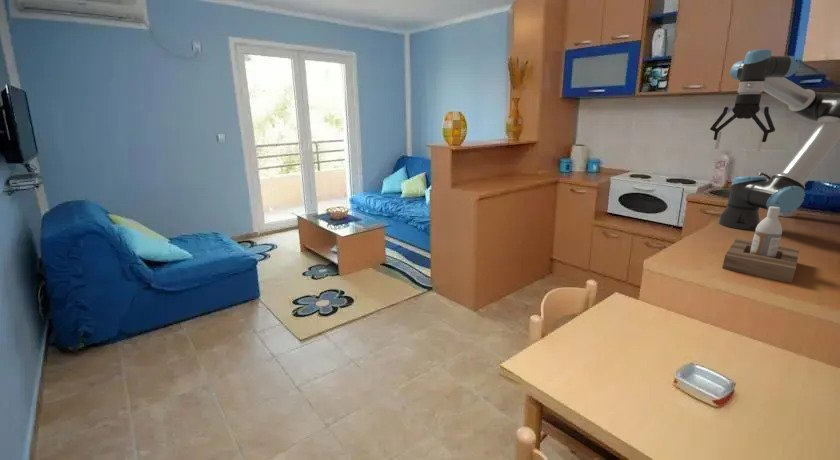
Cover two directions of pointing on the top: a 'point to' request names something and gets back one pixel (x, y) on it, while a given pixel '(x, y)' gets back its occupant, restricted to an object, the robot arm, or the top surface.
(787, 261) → the walnut holder
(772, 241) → the bath foam
